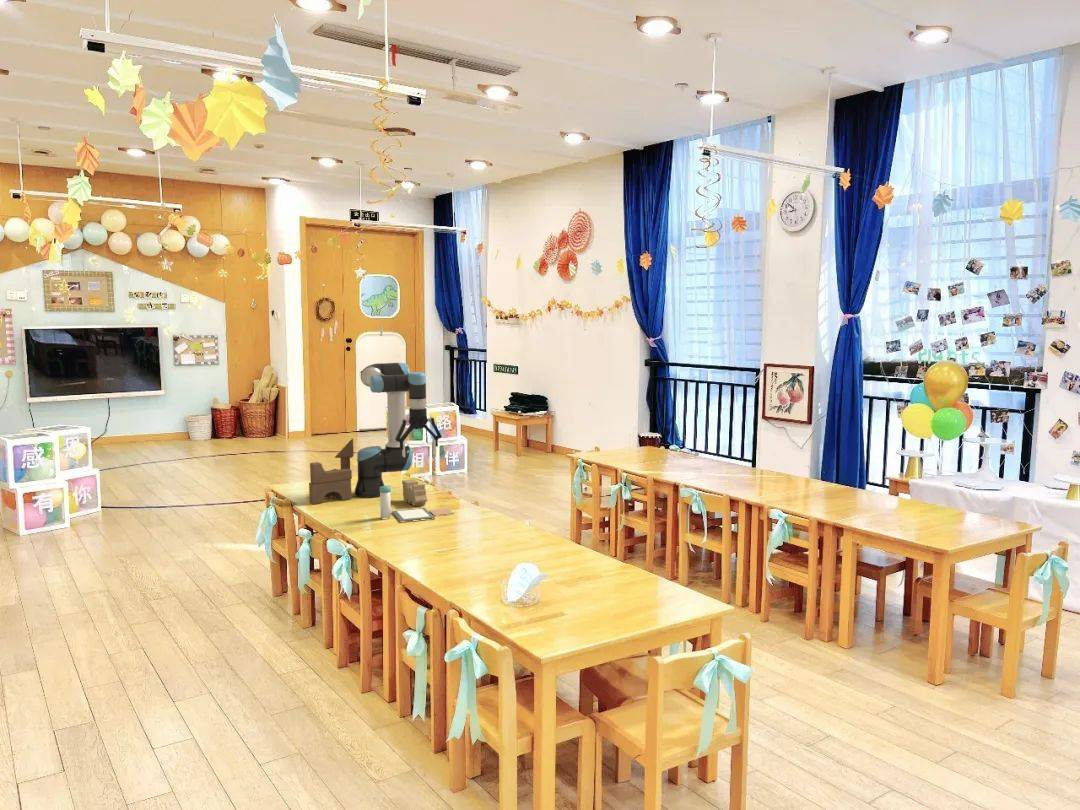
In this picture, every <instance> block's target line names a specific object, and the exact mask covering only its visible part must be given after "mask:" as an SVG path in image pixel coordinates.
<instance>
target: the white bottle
mask: <svg viewBox="0 0 1080 810" xmlns="http://www.w3.org/2000/svg"><path fill="white" fill-rule="evenodd" d="M379 504H380V505H379V507H380V510H379V511H380V519H381V518H390V517H391V518H392V514H391V513H392V511H391V509H392V508H391V507H392V506H391V486H390V485H384V486H381V487H380V496H379ZM391 518H390V519H391Z"/></svg>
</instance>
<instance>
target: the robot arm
mask: <svg viewBox="0 0 1080 810" xmlns="http://www.w3.org/2000/svg"><path fill="white" fill-rule="evenodd" d="M426 377H427V376H426V373H424V372H423V371H413V372H411V371H410V367H409V365H408V364H407V363H405V362H387V363H386V362H385V363H382V362H381V363H380V362H379V363H373V364H369V365H367V366H365V367H364V368H363V369H362V371H361V372H360V381H361V382H362V384H363V385H364V386H366V387H368V388H369V390H370V392H371V393H377V394H378V393H379V394H381V393H386V395H387V398H386V399H387V442H386V443H385V445H384V448H382V447H381V446H380V445H376V446H374V445H373V446H366V447H362V448H360V449H359V450H358V451H357V454H356V455H357V456H356V457H357V458H356V461H357V481H356V484H355V487H354V496H355V495H356V496H355V497H359V498H378V497H380V487H381V486H385V483H384V481H383V473H390V472H391V473H392V472H393V473H394V472H395V473H396V472H405V471H409V470H410V469H411V467H412V463H413V458H414V457H413V448H412V447H411V446H410V444H409V443H408V441H407V437H408V436H409V435H410V433H411V432H412V431H414V430H420V429H421V430H423V429H425V430H426V431H427V432H428V433H429V435H431V437H432V440H431V442H432V444H431V445H432V455H435V456H436V455H437V448H436V447H438V446H439V445H438V441H439V439H442V434H441V432H440V430H439V428H438V427H437V424H436V423H435V418H434V417H432V416H431V417H430V418H428V417H427V415H428V413H427V410H428V409H427V378H426ZM407 392H408V407H409V409H408V415H409V417H408V419H406V393H407ZM428 422H429V423H430V424H431V426H432V428H433V430H434V432H435V433H436V434H435V433H434V432H433V431H432V430H431V429H430V427H428V425H427V424H428ZM408 424H409V426H407V425H408ZM406 426H407V427H408V428H407V429H406Z"/></svg>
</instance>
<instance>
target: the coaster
mask: <svg viewBox="0 0 1080 810" xmlns="http://www.w3.org/2000/svg"><path fill="white" fill-rule="evenodd" d="M428 511H430V512H431V513H432V514H433V515H434V517H437V516H436V515H444V516H448V515H447V514H454V515H455V512H454V511H452V510H451V509H450V508H449V507H447V508H440V509H429V510H428Z"/></svg>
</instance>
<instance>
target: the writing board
mask: <svg viewBox="0 0 1080 810" xmlns="http://www.w3.org/2000/svg"><path fill="white" fill-rule="evenodd" d="M391 513H392V514H393V516H394V517H395V516H396V517H397V518H398V519H399V520H400V521H401V522H402V521H413V520H421V519H432V518H435V517H436V516H433V515H432V514H431V513H430V512H429V510H428V509H427V508H426V507H418V508H409V509H398V510H392V511H391ZM396 517H395V518H396ZM397 518H396V519H397ZM398 519H397V520H398ZM435 519H436V518H435ZM399 520H398V521H399ZM432 520H433V519H432ZM400 521H399V522H400ZM401 522H400V523H401ZM413 522H414V521H413Z"/></svg>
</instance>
